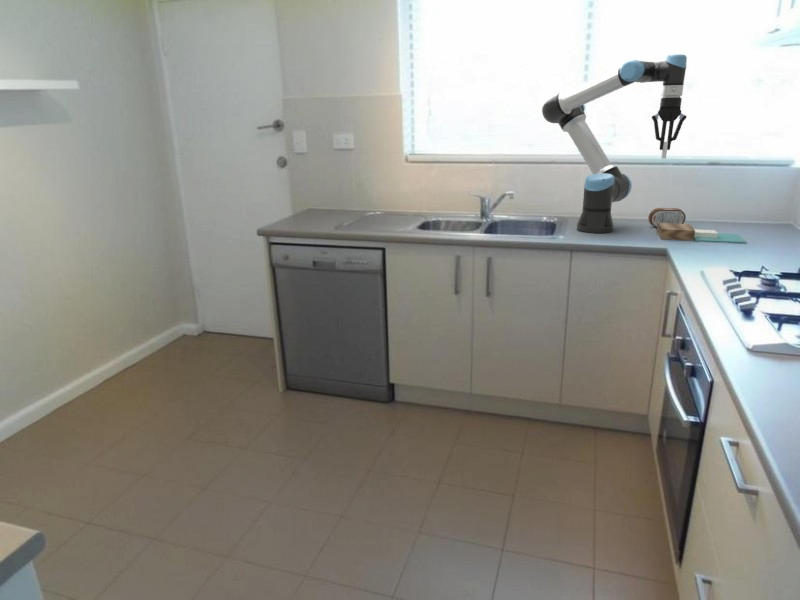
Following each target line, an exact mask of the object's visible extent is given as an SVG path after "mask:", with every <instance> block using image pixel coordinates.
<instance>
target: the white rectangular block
mask: <svg viewBox="0 0 800 600" xmlns="http://www.w3.org/2000/svg"><path fill="white" fill-rule="evenodd" d="M693 229H694V230H695V234H694V237H701V238H717V237H718V233H719V232H717V231H716V230H715V229H714V230H713V229H697V228H696V229H695V228H693Z"/></svg>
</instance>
